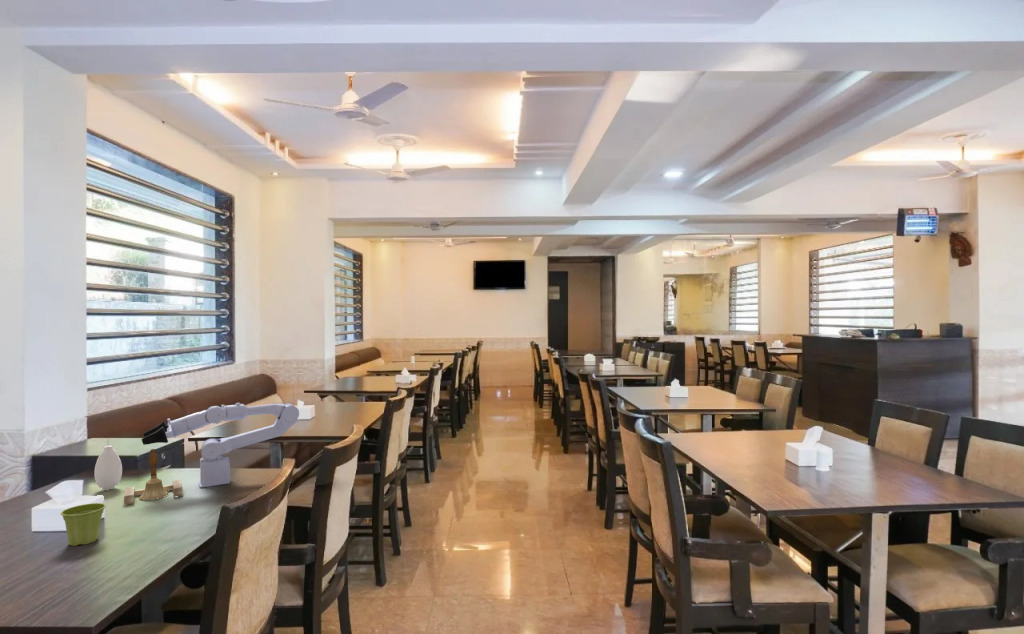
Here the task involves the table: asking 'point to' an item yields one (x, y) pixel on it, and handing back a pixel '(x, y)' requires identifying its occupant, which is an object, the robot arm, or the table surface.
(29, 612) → the table surface
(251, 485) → the table surface
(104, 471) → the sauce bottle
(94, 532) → the plant pot
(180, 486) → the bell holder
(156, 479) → the hand bell
